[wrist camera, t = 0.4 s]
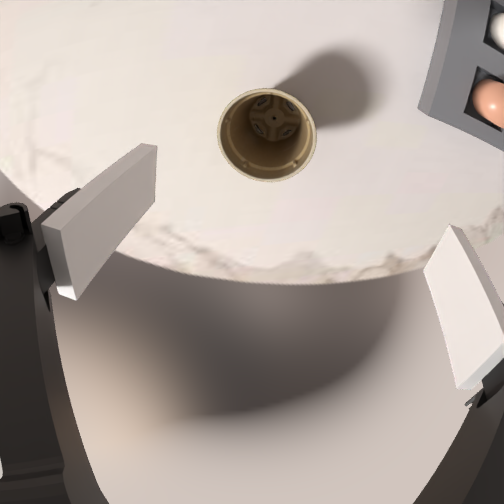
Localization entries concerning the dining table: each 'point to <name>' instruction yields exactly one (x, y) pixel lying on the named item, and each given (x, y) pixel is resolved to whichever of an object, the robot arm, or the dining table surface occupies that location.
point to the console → (464, 67)
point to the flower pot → (266, 135)
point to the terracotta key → (489, 100)
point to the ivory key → (497, 29)
